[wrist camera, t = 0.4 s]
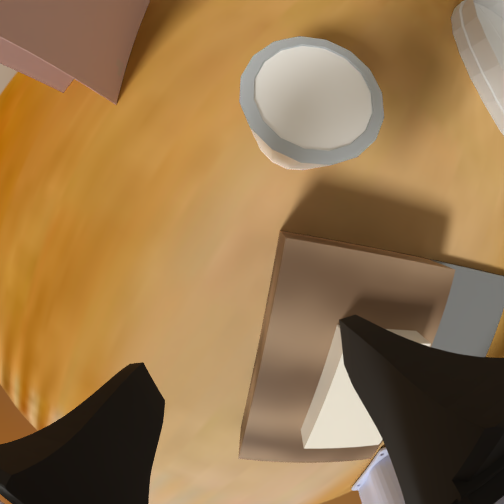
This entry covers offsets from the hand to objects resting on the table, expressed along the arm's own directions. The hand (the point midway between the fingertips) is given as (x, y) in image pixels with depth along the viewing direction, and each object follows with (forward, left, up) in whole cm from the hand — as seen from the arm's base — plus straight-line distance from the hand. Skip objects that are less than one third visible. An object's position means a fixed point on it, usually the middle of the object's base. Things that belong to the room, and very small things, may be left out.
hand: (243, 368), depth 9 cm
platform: (-5, -7, -10) cm, 14 cm away
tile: (-5, -8, -5) cm, 11 cm away
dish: (+28, -27, -11) cm, 41 cm away
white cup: (+11, -1, -11) cm, 15 cm away
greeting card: (+17, +14, -11) cm, 24 cm away
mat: (-5, -20, -10) cm, 23 cm away
